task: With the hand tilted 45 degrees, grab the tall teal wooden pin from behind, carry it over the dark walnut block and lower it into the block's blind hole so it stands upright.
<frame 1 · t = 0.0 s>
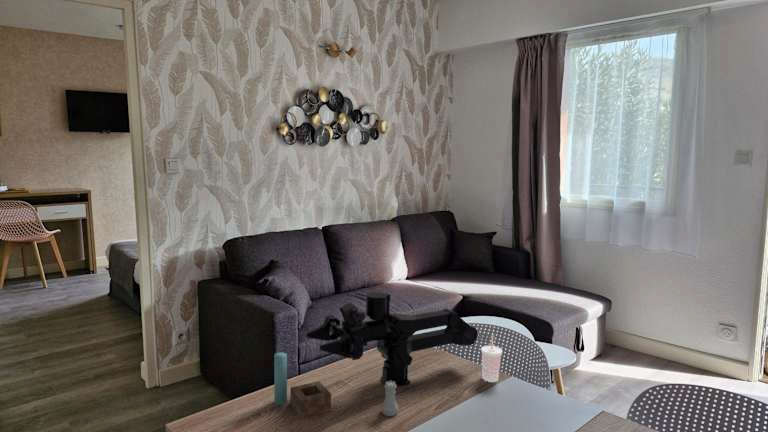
hand: (313, 341, 131), 17 cm above the table, tool horizontal, fingers open, 9 cm apart
teal pin: (280, 402, 133), on the table
walnut hole block: (310, 407, 131), on the table
rook chess piece: (389, 413, 129), on the table
beverage cup: (490, 379, 149), on the table
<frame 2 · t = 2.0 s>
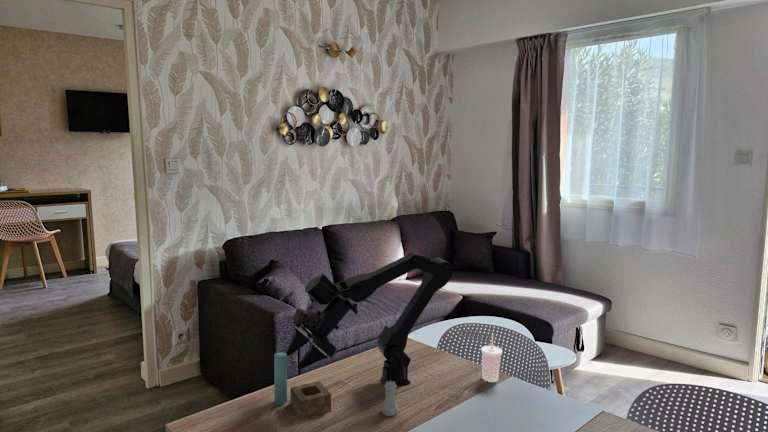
hand: (292, 361, 133), 10 cm above the table, tool tilted 45°, fingers open, 9 cm apart
nothing on the table moved.
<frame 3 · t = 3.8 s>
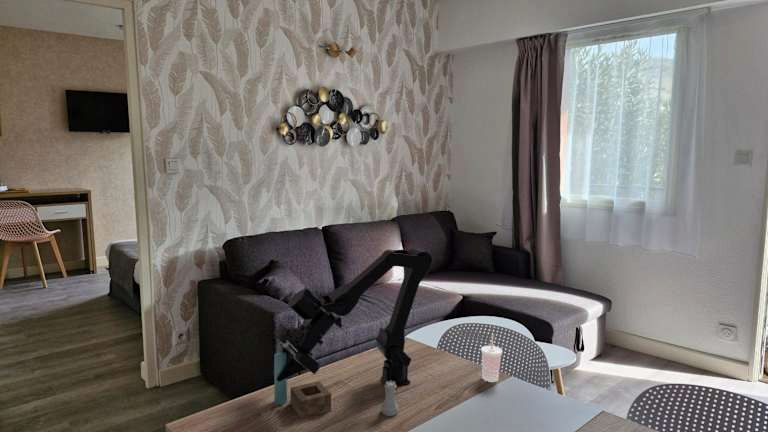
hand: (275, 377, 131), 7 cm above the table, tool tilted 45°, fingers closed on teal pin, 3 cm apart
teal pin: (280, 402, 133), on the table, touching gripper
everything else where it was.
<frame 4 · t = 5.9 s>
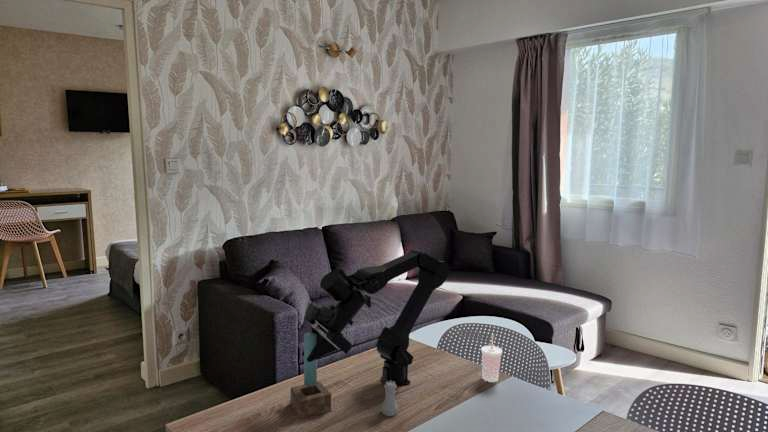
hand: (305, 358, 128), 13 cm above the table, tool tilted 45°, fingers closed on teal pin, 3 cm apart
teal pin: (310, 383, 130), point 6 cm above the table, touching gripper
everything else where it was.
when the fingers open (9 cm above the table, at t = 7.8 s): teal pin drops 1 cm, resting on walnut hole block.
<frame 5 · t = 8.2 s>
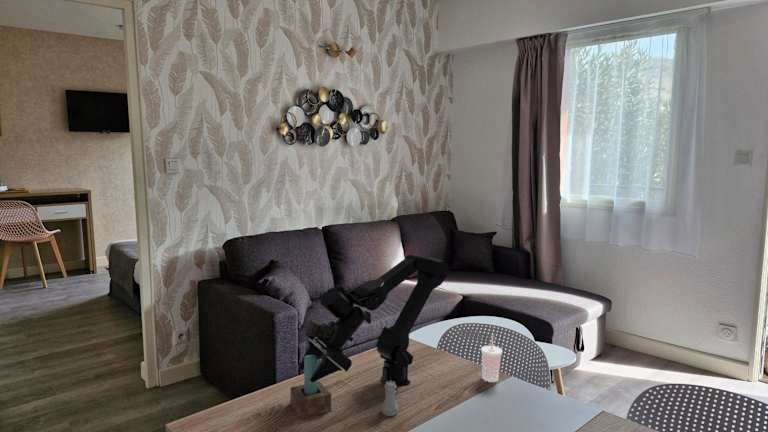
hand: (305, 375, 129), 9 cm above the table, tool tilted 45°, fingers open, 7 cm apart
teal pin: (310, 405, 131), point 1 cm above the table, touching walnut hole block
everything else where it was.
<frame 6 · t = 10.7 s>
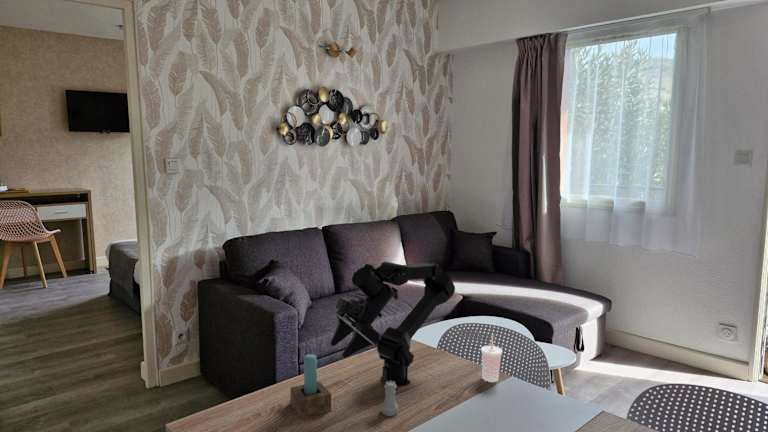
hand: (337, 350, 133), 14 cm above the table, tool tilted 40°, fingers open, 9 cm apart
nothing on the table moved.
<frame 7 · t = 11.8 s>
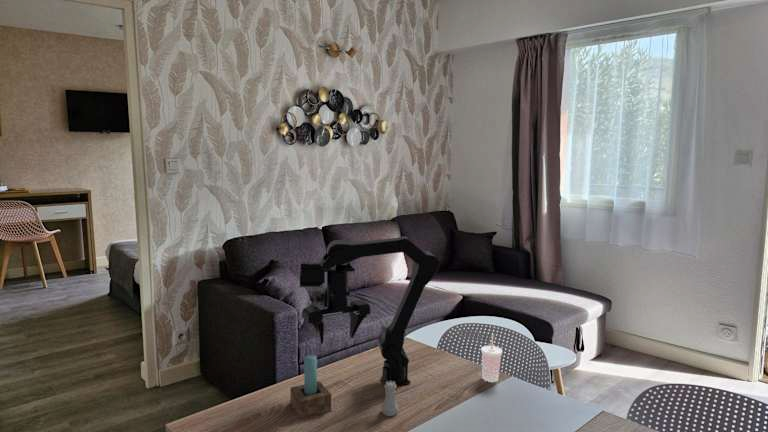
hand: (336, 340, 142), 13 cm above the table, tool pointing down, fingers open, 9 cm apart
nothing on the table moved.
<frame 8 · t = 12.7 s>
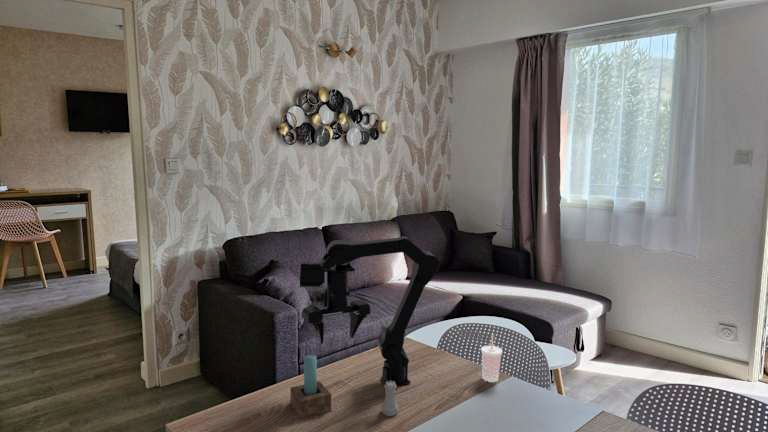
hand: (336, 340, 142), 13 cm above the table, tool pointing down, fingers open, 9 cm apart
nothing on the table moved.
at the end: teal pin 0.0 cm off-centre on the walnut hole block, point 0.5 cm above the walnut hole block's base; teal pin tilted 1°; the gripper is holding nothing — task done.
